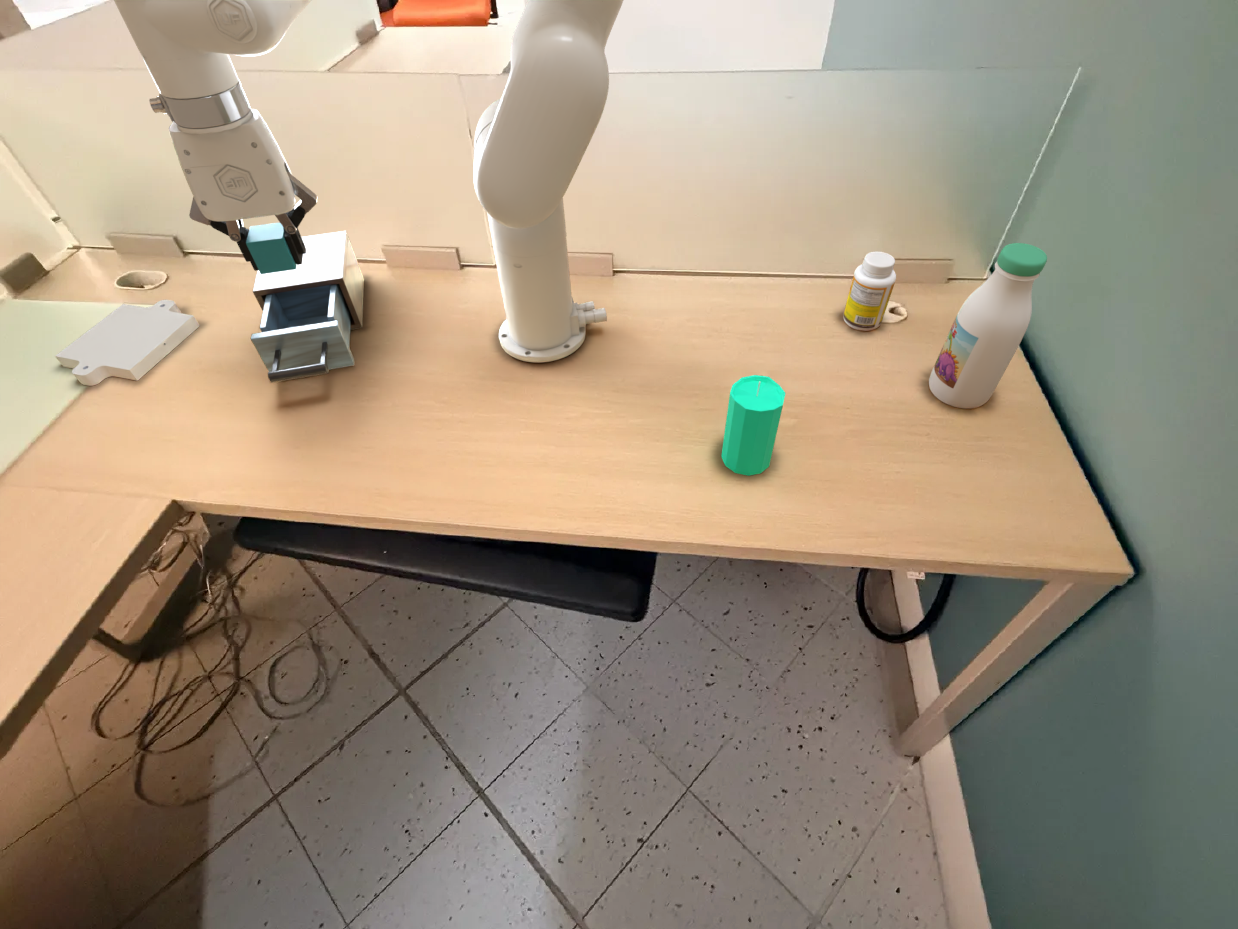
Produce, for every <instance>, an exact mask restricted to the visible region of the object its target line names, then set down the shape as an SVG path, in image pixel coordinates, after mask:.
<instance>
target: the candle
mask: <svg viewBox="0 0 1238 929" xmlns="http://www.w3.org/2000/svg"><path fill="white" fill-rule="evenodd" d="M785 398H786V391H785V390H784V388H782V386H781V385H780V384H779V383H778V382H776V381H775V379H772V378H771V377H770V376H768V375H758V374H753V375H747V376H743V377H740V378H739V379H737V381H735V382H734V383H733V384H732V386H731V388H730V392H729V396H728V404H727V411H726V418H725V426H724V434H723V440H722V446H721V455H720V458H721V460H722V462H723V464H724V466H725V467H726V468H727V469H729V470H730V471H731V472H733V473H734V474H738V475H743V476H746V477H750V476H756V475H760V474H762V473H763V472H765V471H766V470H767V469H768V468H770V465H771V460H772V456H773V452H774V446H775V443H776V438H777V433H778V429H779V425H780V421H781V415H782V411H783V407H784V403H785Z"/></svg>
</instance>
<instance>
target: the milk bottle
mask: <svg viewBox="0 0 1238 929" xmlns="http://www.w3.org/2000/svg"><path fill="white" fill-rule="evenodd" d="M1047 262H1048V255H1047V253H1046V252H1045V251H1044V250H1042V249H1041V248H1039V247H1038V246H1036V245H1033V244H1030V243H1024V242H1013V243H1009V244H1006V245H1004V246H1003V247H1002V249H1001V250H1000V252H999V254H998V257H997V261H996V262H995V264H994V271H993V272H992V273H991V274H990V276H989V277H988V278H987V279H986V280H985V281H984V282H983V283H982V284H980V286H978V287H977V288H975V289H974V290H973V292H971V294H969V295H968V297H967V298H966V299H965V301H964V302H963V303H962V305H961V307H960V308H959V310H958V312H957V314H956V316H955V318H954V320H953V322H952V325H951V327H950V329H949V332H948V334H947V336H946V338H945V341H944V343H943V345H942V347H941V350H940V352H939V354H938V356H937V359H936V361H935V363H934V365H933V368H932V370H931V373H930V375H929V378H928V386H929V389H930V392H931V394H932V395H933V396H934V397H935V398H937V399H938V400H939V401H941V402H943V403H944V404H946V405H949V406H951V407H955V408H958V409H976V408H979V407H981V406H983V405H985V404H986V403H988V401H990V399H991V397H992V395H993V394H994V392H995V390H996V388H997V387H998V385H999V383H1000V382H1001V380H1002V378H1003V376H1004V374H1005V372H1006V370H1007V369H1008V367H1009V365H1010V363H1011V361H1012V359H1013V357H1014V356H1015V354H1016V352H1017V350H1018V348H1019V346H1020V344H1021V342H1022V340H1023V338H1024V336H1025V334H1026V332H1027V331H1028V327H1029V325H1030V322H1031V318H1032V312H1033V310H1032V309H1033V308H1032V307H1033V305H1032V292H1033V285H1034V282H1035V280H1036V279H1038V278H1039V277H1040V276H1041V272H1042V271H1043V270H1044V268H1045V266H1046V263H1047Z"/></svg>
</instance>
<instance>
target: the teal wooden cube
mask: <svg viewBox="0 0 1238 929" xmlns="http://www.w3.org/2000/svg"><path fill="white" fill-rule="evenodd" d="M248 229H249V233H248V237H247V241H246V245H247V247H248V249H249V251H250V253H251V255H252V257H253V259H254V261H255V263H256V265H257V267H258V269H259V271H260V274H266V273H273V272H280V271H287V270H294V269H296V266H297V264H296V263H295V261H294V259H293V257H292V254H291V252H290V250H289V247H288V245H287V243H286V241H285V238H284V234H285V231H284V229H283V226H282V225H281V223H280V222H272V223H265V224H264V223H263V224H258V225H250V226H249V228H248Z"/></svg>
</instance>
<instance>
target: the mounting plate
mask: <svg viewBox="0 0 1238 929" xmlns="http://www.w3.org/2000/svg"><path fill="white" fill-rule="evenodd" d="M200 326H201V325H200V323H199V322H198V320H197V319H196V317H195V315H194V314H187V313H182V312H181V309H180V308H179V307H178V304H177V303H176V302H175V301H174V300H172V299H161V300H158V301H157V302H156V303H154V304H153V305H151V306H147V307H145V306H139V305H132V304H128V303H127V304H126V303H122V304H120V306H117V308H116V309H114V310H113V311H112V312H110V313H109V314H107V315H106V316H105V317H103V318H102V319H101V320H99V321H98V322H97V323H96V324H95V325H93V326H92V327H91V328H89V329H88V330H87V331H86V332H84V333H83V334H81V335H80V336H79V337H77V338H76V339H74V341H72V342H71V343H70V344H68V345H67V346H65V348H63V349H62V350H60V351H59V352H57V354H55V355H54V357H55V359H56V360H57V361H58V362H59V363H60V365H61V366H62V367H63V368H69V369H72V370H71V374H72V375H73V376H74V377H75V378H76V379H77V380H78V382H79V383H80V384H81V385H82V386H83V385H84V386H88V387H92V386H96V385H99V384H100V383H101V382H103V381H104V380H105V379H107V378H109V377H116V378H120V379H125V380H132V381H137V382H138V381H139V380H140V379H142V377H144V376H145V375H146V374H147V373H149V372H150V371H151V370H152V369H153V368H154V367H155V366H156V365H157V364H158V363H160V362H161V361H162V360H163V359H164V358H165V357H166V356H168V355H169V354H170V353H171V352H172V351H173V350H174V349H175V348H177V347H178V346H179V345H180V344H181V343H182V342H183V341H185V340H186V339H187V338H188V337H189V336H190V335H192V334H193V333H194V332H195V331H196V330H197V329H198V328H200Z"/></svg>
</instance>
